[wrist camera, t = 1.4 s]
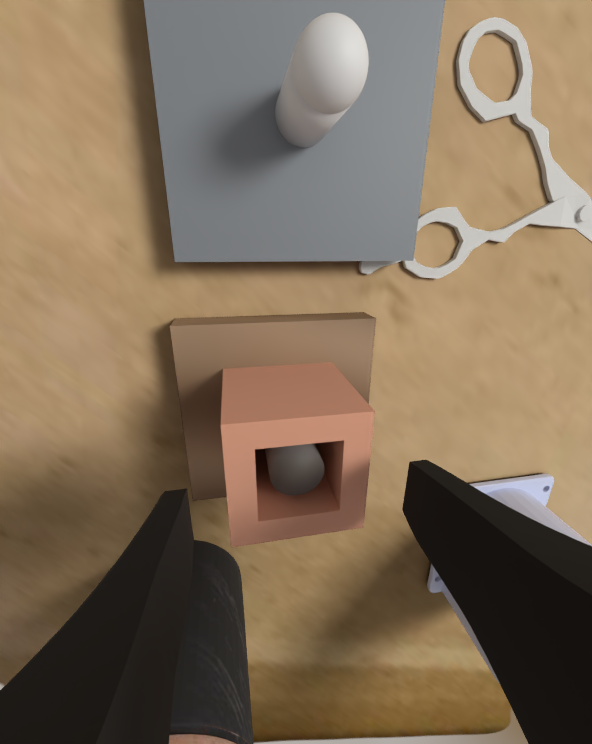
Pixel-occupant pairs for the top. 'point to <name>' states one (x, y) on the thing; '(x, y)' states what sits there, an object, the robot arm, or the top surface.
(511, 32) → the scissors
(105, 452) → the top surface
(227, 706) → the travel mug
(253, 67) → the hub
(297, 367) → the collar
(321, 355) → the stand
